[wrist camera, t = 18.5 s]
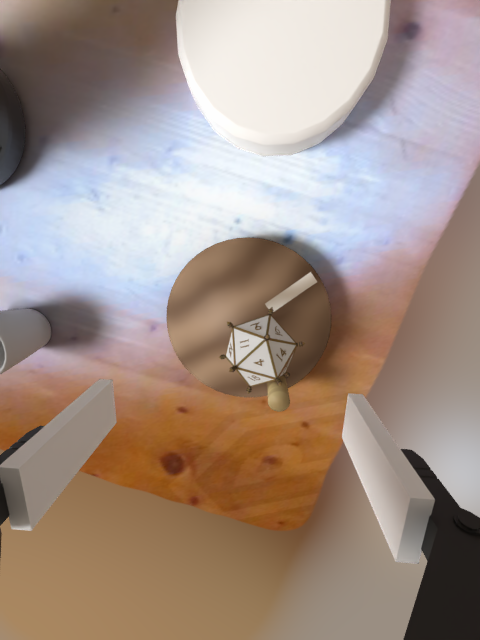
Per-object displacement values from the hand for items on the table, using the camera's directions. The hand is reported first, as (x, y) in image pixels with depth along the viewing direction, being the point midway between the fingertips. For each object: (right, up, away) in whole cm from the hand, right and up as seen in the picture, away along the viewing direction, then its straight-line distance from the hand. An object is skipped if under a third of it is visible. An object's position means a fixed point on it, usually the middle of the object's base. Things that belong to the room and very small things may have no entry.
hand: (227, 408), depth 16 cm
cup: (-29, +4, +24) cm, 38 cm away
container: (+5, +33, +15) cm, 37 cm away
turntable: (+2, +5, +22) cm, 22 cm away
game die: (+1, +5, +19) cm, 20 cm away
